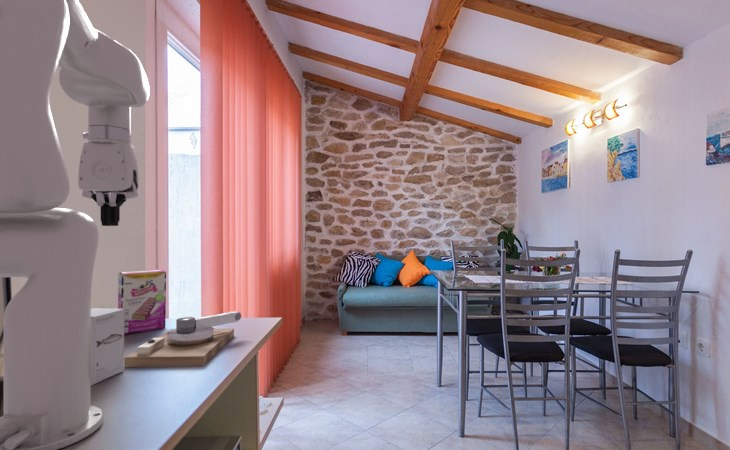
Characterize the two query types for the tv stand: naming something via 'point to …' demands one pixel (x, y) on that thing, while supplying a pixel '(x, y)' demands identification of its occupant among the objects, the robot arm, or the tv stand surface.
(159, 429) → the tv stand surface
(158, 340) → the wooden cutting board
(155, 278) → the candy bar box
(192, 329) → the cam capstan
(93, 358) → the supplement box
